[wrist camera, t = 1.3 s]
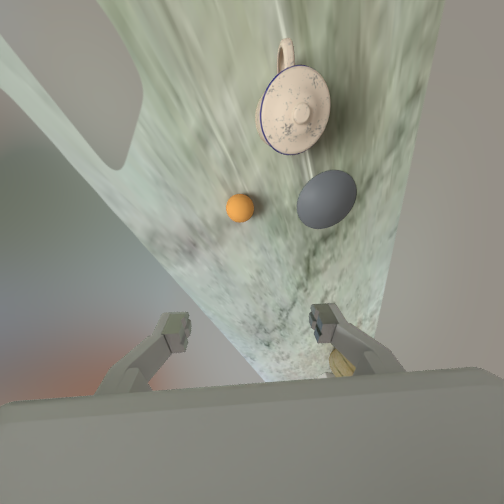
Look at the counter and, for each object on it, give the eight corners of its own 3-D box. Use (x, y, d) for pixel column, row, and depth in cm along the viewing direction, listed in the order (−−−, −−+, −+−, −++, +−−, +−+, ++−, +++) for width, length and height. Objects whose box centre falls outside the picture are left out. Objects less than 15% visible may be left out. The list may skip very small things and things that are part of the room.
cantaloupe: (322, 343, 76) (339, 385, 64) (357, 335, 74) (381, 376, 62) (324, 358, 84) (340, 397, 72) (355, 351, 83) (377, 389, 70)
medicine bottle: (316, 377, 97) (325, 405, 87) (324, 371, 94) (335, 400, 84) (325, 378, 99) (335, 405, 90) (334, 373, 96) (346, 401, 86)
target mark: (302, 170, 35) (302, 170, 35) (365, 169, 36) (365, 170, 36) (292, 229, 42) (293, 229, 42) (344, 227, 43) (345, 228, 43)
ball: (225, 190, 36) (224, 199, 31) (252, 190, 36) (255, 199, 32) (227, 216, 39) (226, 227, 34) (252, 215, 39) (254, 226, 35)
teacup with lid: (307, 143, 32) (338, 149, 23) (258, 154, 32) (268, 165, 23) (307, 46, 25) (352, -3, 16) (245, 61, 26) (252, 22, 16)
